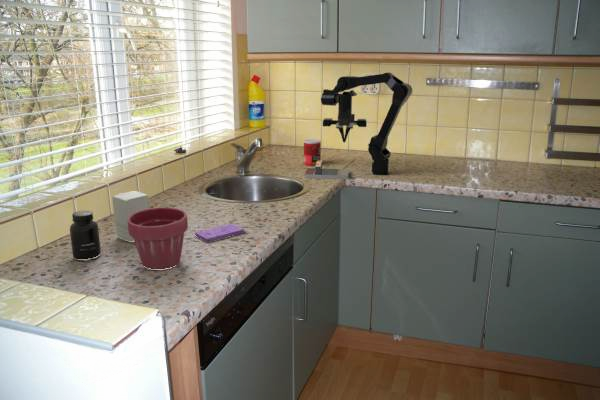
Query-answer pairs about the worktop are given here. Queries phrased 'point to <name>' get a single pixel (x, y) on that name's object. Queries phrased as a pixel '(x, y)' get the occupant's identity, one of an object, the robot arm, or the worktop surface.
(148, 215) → the plant pot
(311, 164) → the canned food
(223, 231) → the sponges
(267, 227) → the worktop surface
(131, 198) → the supplement box
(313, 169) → the breaker panel
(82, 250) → the supplement bottle
